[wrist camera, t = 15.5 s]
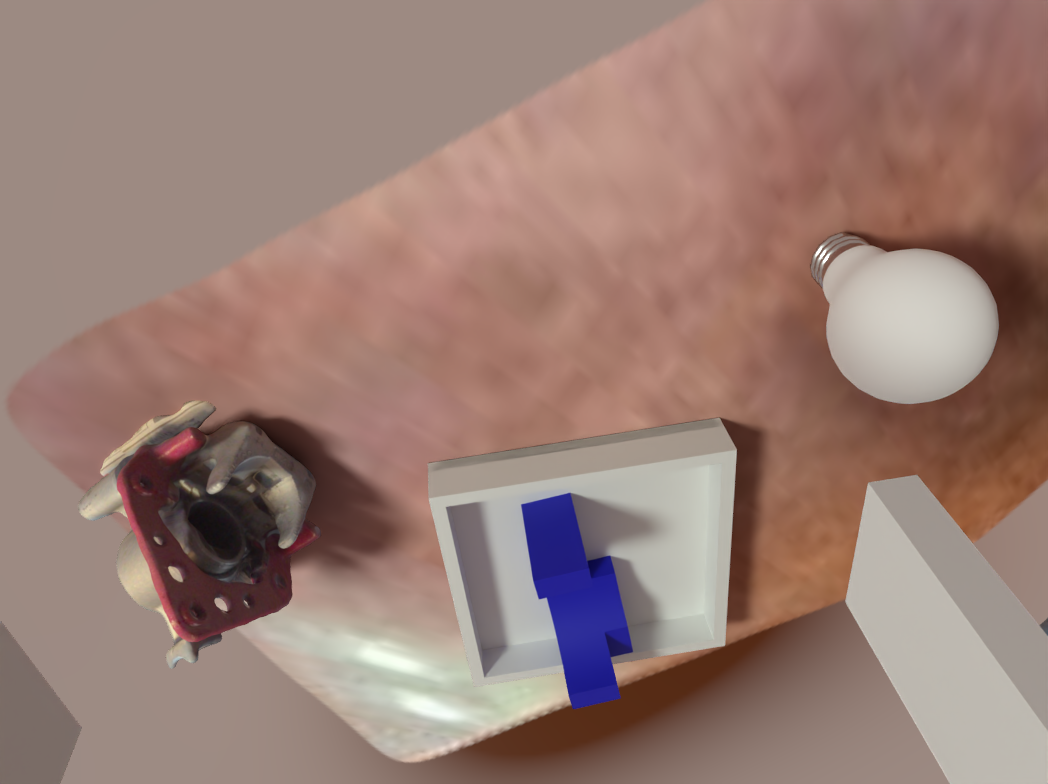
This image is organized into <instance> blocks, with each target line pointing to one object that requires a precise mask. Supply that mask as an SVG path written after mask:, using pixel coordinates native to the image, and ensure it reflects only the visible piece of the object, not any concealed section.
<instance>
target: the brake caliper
mask: <svg viewBox="0 0 1048 784" xmlns="http://www.w3.org/2000/svg"><path fill="white" fill-rule="evenodd" d="M215 410H216V407H215V406H213V405H212V404H211V403H209V402H207V401H189V402H186V403H184V405H183V407H182V409H181V410H180V411H179V412H177V413H176V414H173V415H168V416H157V417H155V418H153V419H151V420H150V421H148V422H147V423H145V424H144V425H143V426H141V428H140V429H139V430H138V431H137V432H136V433H135V434H134V436H133V438H131V439H129V440H128V441H127V442H126V443H125V444H124V445H123V446H121V447H118V448H117V449H116V450H114V451H113V452H112V453H111V454H110V455H109V456H108V457H107V458H106V459H105V460H104V463H103V467H102V468H101V470H100V473H101V474H102V475H103V476H105V477H104V478H102V479H101V480H100V481H99V482H98V483H97V484H96V485H94V486H93V487H91V488H90V489H89V490H88V492H87V493H86V494H85V495H84V496H83V498H82V499H81V500H80V501H79V503H78V510H79V512H80V514H81V515H82V516H84V517H85V518H86V519H88V520H97V519H100V518H102V517H105V516H108V515H110V514H113V513H115V512H120V513H122V514H123V515H124V516H126V517H127V518H128V519H129V522H130V525H131V531H130V533H129V534H128V535H127V536H126V537H125V538H124V540H123V541H122V543H121V545H120V547H119V550H118V554H117V563H116V564H117V572H118V577H119V580H120V582H121V584H122V586H123V587H124V589H125V590H126V592H127V593H128V594H129V595H130V597H132V599H133V600H134V601H135V602H136V603H137V604H139V605H140V606H142V607H144V608H145V609H147V610H150V611H154V612H157V613H159V614H161V615H162V616H163V617H164V619H165V621H166V623H167V625H168V628H169V631H170V633H171V636H172V638H173V641H174V646H173V647H172V648H171V649H170V650H169V651H168V652H167V655H166V660H167V664H168V666H169V668H174V667H175V666H176V664H177V662H178V661H179V660H180V659H185V660H187V661H188V662H190V663H195V662H196V661H197V660H198V651H199V650H201V649H202V648H205V647H207V646H210V645H212V644H216V643H218V642H220V641H221V639H222V635H221V633H222V632H224V631H227V630H230V629H233V628H235V627H238V626H241V625H245V624H247V623H249V622H251V621H253V620H256V619H257V618H260V617H264V616H266V615H268V614H271V613H275V612H278V611H279V610H280V609H282V608H283V607H285V606H287V605H288V604H289V602H290V600H291V598H292V580H291V573H290V557H291V555H292V554H294V553H296V552H297V551H298V550H300V549H302V548H304V547H306V546H308V545H309V544H310V543H312V542H313V541H315V540H316V539H318V538H319V537H320V535H321V530H320V529H319V528H318V527H317V526H316V525H314V524H313V523H311V522H310V521H308V520H307V519H305V517H306V512H307V510H308V508H309V505H310V503H311V500H312V497H313V493H314V490H315V488H316V481H315V478H314V477H313V475H312V474H311V472H310V471H309V470H308V469H306V468H305V467H304V466H303V465H302V464H301V463H300V462H299V461H297V460H296V459H295V458H293V457H292V456H291V455H289V454H288V453H287V452H285V451H284V450H283V449H282V448H280V447H279V446H278V445H276V444H274V443H273V442H272V441H271V440H270V439H269V438H268V436H267V435H266V434H265V432H264V431H263V430H262V429H261V428H260V427H258V426H256V425H255V424H253V423H250V422H245V421H238V422H232V423H229V424H227V425H225V426H223V427H221V428H220V429H218V430H217V431H215V432H214V433H212V434H210V435H205V434H204V433H203V432H201V431H200V430H198V429H197V428H198V427H199V426H200V425H201V424H202V422H203V421H204V420H205V419H206V418H207V417H209V416H210V415H211V414H212V413H213V412H214V411H215ZM177 434H178V435H177ZM215 598H221V599H222V600H223V601H224V602H225V603H226V605H227V609H228V611H227V612H226V611H223V610H221V609H219V608H218V607H217V606H216V604H215V602H214V599H215ZM244 600H245V601H246V602H247V603H248V605H247V604H246V603H245V602H244Z"/></svg>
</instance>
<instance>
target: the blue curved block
mask: <svg viewBox="0 0 1048 784" xmlns="http://www.w3.org/2000/svg"><path fill="white" fill-rule="evenodd" d="M521 508H522V514H523V520H524V527H525V533H526V539H527V546H528V552H529V558H530V564H531V571H532V577H533V582H534V586H535V589H536V592H537V595H538V598H539V599H544V598H547V601H548V605H549V609H550V612H551V616H552V620H553V624H554V628H555V633H556V637H557V641H558V646H559V650H560V655H561V659H562V664H563V669H564V674H565V679H566V684H567V689H568V694H569V698H570V701H571V704H572V708H573V709H576V708H581V707H585V706H589V705H593V704H598V703H602V702H607V701H611V700H615V699H620V694H619V690H618V686H617V681H616V677H615V673H614V669H613V665H612V661H611V657H614V656H619V655H623V654H627V653H632V652H633V648H632V644H631V639H630V634H629V630H628V625H627V621H626V617H625V613H624V609H623V605H622V601H621V597H620V592H619V588H618V584H617V579H616V575H615V571H614V567H613V564H612V560H611V556H606V557H602V558H597V559H593V560H589V561H587V558H586V554H585V550H584V546H583V542H582V538H581V534H580V530H579V526H578V522H577V518H576V514H575V509H574V505H573V501H572V497H571V493H567V494H563V495H558V496H554V497H550V498H546V499H542V500H537V501H533V502H529V503H525V504H521Z"/></svg>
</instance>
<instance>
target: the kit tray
mask: <svg viewBox="0 0 1048 784" xmlns="http://www.w3.org/2000/svg"><path fill="white" fill-rule="evenodd" d="M736 456H737V449H736V447H735V445H734V444H733V442H732V440H731V438H730V436H729V434H728V433H727V431H726V429H725V427H724V425H723V423H722V421H721V420H720V418H714V419H708V420H701V421H695V422H689V423H682V424H676V425H669V426H663V427H657V428H650V429H644V430H637V431H631V432H625V433H618V434H612V435H605V436H599V437H593V438H586V439H580V440H573V441H567V442H561V443H554V444H548V445H541V446H535V447H529V448H522V449H516V450H510V451H503V452H497V453H490V454H484V455H478V456H471V457H465V458H458V459H452V460H446V461H439V462H433V463H428V494H429V502H430V506H431V511H432V515H433V519H434V523H435V527H436V531H437V535H438V540H439V544H440V548H441V552H442V556H443V560H444V564H445V569H446V573H447V577H448V581H449V585H450V589H451V593H452V598H453V602H454V606H455V610H456V614H457V618H458V622H459V627H460V631H461V635H462V639H463V643H464V647H465V651H466V656H467V660H468V664H469V668H470V672H471V676H472V680H473V685H474V687H478V686H484V685H490V684H496V683H502V682H508V681H514V680H520V679H526V678H532V677H538V676H544V675H550V674H557V673H563V672H564V669H563V664H562V659H561V655H560V650H559V646H558V641H557V637H556V633H555V628H554V624H553V620H552V616H551V612H550V609H549V605H548V601H547V598H544V599H539V598H538V595H537V592H536V589H535V586H534V582H533V577H532V571H531V564H530V558H529V552H528V546H527V539H526V533H525V527H524V520H523V514H522V508H521V504H525V503H529V502H533V501H537V500H542V499H546V498H550V497H554V496H558V495H563V494H567V493H571V497H572V501H573V505H574V509H575V514H576V518H577V522H578V526H579V530H580V534H581V538H582V542H583V546H584V550H585V554H586V558H587V561H589V560H593V559H597V558H602V557H606V556H611V560H612V564H613V567H614V571H615V575H616V579H617V584H618V588H619V592H620V597H621V601H622V605H623V609H624V613H625V617H626V621H627V625H628V630H629V634H630V639H631V644H632V648H633V652H632V653H627V654H623V655H619V656H614V657H611V661H612V664H617V663H623V662H629V661H635V660H641V659H647V658H653V657H659V656H665V655H671V654H677V653H684V652H690V651H696V650H702V649H708V648H714V647H720V646H725V637H726V620H727V604H728V587H729V571H730V554H731V538H732V522H733V505H734V489H735V472H736Z"/></svg>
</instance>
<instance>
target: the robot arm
mask: <svg viewBox="0 0 1048 784" xmlns="http://www.w3.org/2000/svg"><path fill="white" fill-rule="evenodd" d="M846 604H847V606H848V608H849V609H850V611H851V613H852V614H853V616H854V618H855V620H856V621H857V623H858V625H859V627H860V628H861V630H862V632H863V634H864V635H865V637H866V639H867V641H868V642H869V644H870V646H871V647H872V649H873V651H874V653H875V654H876V656H877V657H878V660H879V661H880V663H881V664H882V667H883V668H884V670H885V672H886V673H887V675H888V677H889V679H890V680H891V682H892V684H893V686H894V687H895V689H896V691H897V693H898V694H899V696H900V698H901V699H902V701H903V703H904V705H905V707H906V708H907V710H908V712H909V713H910V715H911V717H912V719H913V720H914V722H915V724H916V726H917V727H918V729H919V731H920V733H921V734H922V736H923V738H924V739H925V741H926V743H927V745H928V746H929V748H930V750H931V752H932V753H933V755H934V757H935V758H936V760H937V762H938V764H939V766H940V767H941V769H942V771H943V772H944V774H945V776H946V778H947V780H948V781H949V783H950V784H1048V618H1047V619H1046V620H1045V621H1044V622H1043V623H1042V624H1041V625H1038V623H1037V622H1036V621H1035V620H1034V618H1033V617H1032V616H1031V615H1030V614H1029V612H1028V611H1027V610H1026V609H1025V607H1024V606H1023V605H1022V604H1021V602H1020V601H1019V600H1018V599H1017V598H1016V596H1015V595H1014V594H1013V593H1012V591H1011V590H1010V589H1009V588H1008V586H1007V585H1006V584H1005V583H1004V581H1003V580H1002V579H1001V578H1000V577H999V575H998V574H997V573H996V572H995V570H994V569H993V568H992V567H991V566H990V564H989V563H988V562H987V561H986V559H985V558H984V557H983V556H982V554H981V553H980V552H979V551H978V550H977V548H976V547H975V546H974V545H973V543H972V542H971V541H970V540H969V538H968V537H967V536H966V535H965V533H964V532H963V531H962V530H961V528H960V527H959V526H958V525H957V524H956V522H955V521H954V520H953V519H952V517H951V516H950V515H949V514H948V512H947V511H946V510H945V509H944V508H943V506H942V505H941V504H940V503H939V501H938V500H937V499H936V498H935V496H934V495H933V494H932V493H931V492H930V490H929V489H928V488H927V487H926V485H925V484H924V483H923V482H922V480H921V479H920V478H919V477H918V475H913V476H907V477H901V478H895V479H888V480H882V481H876V482H870V483H868V487H867V492H866V497H865V502H864V507H863V513H862V518H861V523H860V528H859V534H858V539H857V544H856V549H855V555H854V560H853V565H852V570H851V576H850V581H849V586H848V591H847V597H846ZM81 728H82V727H81V726H80V725H79V724H78V722H77V721H76V720H75V718H74V717H73V716H72V714H71V713H70V711H69V710H68V709H67V708H66V706H65V705H64V704H63V702H62V701H61V700H60V698H59V697H58V696H57V695H56V693H55V692H54V690H53V689H52V688H51V686H50V685H49V684H48V683H47V681H46V680H45V678H44V677H43V676H42V674H41V673H40V672H39V671H38V669H37V668H36V667H35V665H34V664H33V663H32V661H31V660H30V659H29V657H28V656H27V655H26V653H25V652H24V651H23V649H22V648H21V647H20V645H19V644H18V643H17V641H16V640H15V639H14V637H13V636H12V635H11V634H10V632H9V631H8V630H7V628H6V627H5V625H4V624H3V623H2V622H1V621H0V784H60V783H61V780H62V778H63V775H64V772H65V770H66V767H67V765H68V762H69V760H70V757H71V754H72V752H73V749H74V747H75V744H76V741H77V738H78V736H79V734H80V731H81Z"/></svg>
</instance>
